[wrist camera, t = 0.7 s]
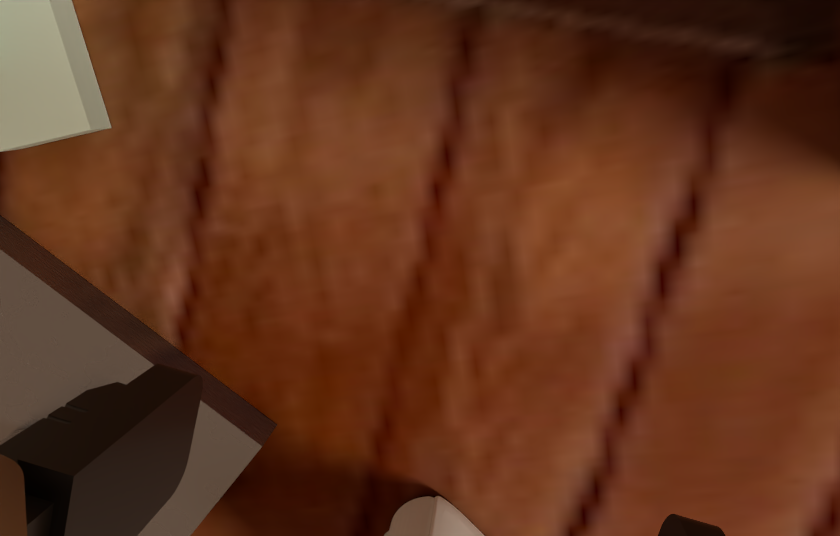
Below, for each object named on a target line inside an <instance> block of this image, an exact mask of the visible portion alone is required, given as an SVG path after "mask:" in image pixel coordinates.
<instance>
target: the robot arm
mask: <svg viewBox="0 0 840 536" xmlns="http://www.w3.org/2000/svg"><path fill="white" fill-rule="evenodd" d="M202 389H203V380H202V377H201V376H200V375H197V374H193V373H190V372H186V371H183V370H179V369H176V368H172V367H169V366H166V365H162V364H156V365H154V366H153V367H151V368H150V369H148V370H147V371H145V372H144V373H142V374H141V375H139V376H138V377H137V378H135V379H134V380H132V381H131V382H129V383H128V384H123V383H119V382H115V383H111V384H107V385H104V386H100V387H96V388H93V389H89V390H86V391H85V392H83V393H82V394H80V395H78V396H77V397H75V398H74V399H72V400H71V401H69V402H67V403H66V405H65V407H63V406H61V407H60V408H58V409H56V410H55V411H53V412H52V413H50V414H48V417H47V418H42V419H41V420H39V421H37V422H36V423H34V424H33V425H31V426H30V427H28V428H26V429H25V430H23V431H22V432H20V433H19V434H17V435H15V436H14V437H12V438H11V439H9V440H8V441H6V442H4V443H3V444H1V445H0V536H137V535H138V534H139V533H140V532H141V531H142V530H143V529H144V527H145V526H146V525H147V524H148V523H149V522H150V521H151V519H152V518H153V517H154V516H155V515H156V514H157V513H158V511H159V510H160V509H161V508H162V507H163V506H164V505H165V504H166V502H167V501H168V500H169V499H170V498H171V497H172V495H173V494H174V492H175V491H176V489H177V487H178V485H179V484H180V481H181V479H182V477H183V475H184V472H185V469H186V466H187V463H188V459H189V454H190V449H191V444H192V439H193V434H194V429H195V424H196V420H197V415H198V410H199V405H200V400H201V395H202ZM658 536H725V534H724V533H723V531H722V530H721V529H720V528H719V527H717V526H714V525H710V524H707V523H703V522H700V521H696V520H693V519H689V518H686V517H682V516H679V515H676V514H671V515H669V516H668V517H667V518H666V519H665V521H664V522H663V524H662V527H661V529H660V532H659V534H658Z"/></svg>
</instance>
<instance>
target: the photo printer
mask: <svg viewBox="0 0 840 536" xmlns="http://www.w3.org/2000/svg"><path fill="white" fill-rule="evenodd" d="M384 536H484V535H483V534H482V533H481V532H480V531H479V530H478V529H477V528H476V527H475V526H474V525H473V524H472V523H471V522H470V521H469V520H468V519H467V518H466V517H465V516H464V515H463V514H462V513H461V512H460V511H459V510H458V509H456V508H455V507H454V506H453V505H452V504H450V503H449V502H448V501H447V500H445V499H444V498H442V497H440V496H436V497H434V498H433V497H430V496H426V497H420V498H416V499H413V500H411V501H409V502H407V503H405V504H404V505H403V506H401V507H400V508H399V509H398V510H397V512H396V513H395V514H394V516H393V518H392V521H391V525H390V529H389V531H388V532H386V533H385V534H384Z"/></svg>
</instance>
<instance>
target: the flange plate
mask: <svg viewBox="0 0 840 536" xmlns="http://www.w3.org/2000/svg"><path fill="white" fill-rule="evenodd" d="M109 128H112V127H111V124H110V121H109V118H108V115H107V112H106V108H105V105H104V102H103V99H102V96H101V92H100V89H99V86H98V83H97V80H96V76H95V73H94V70H93V67H92V64H91V61H90V57H89V54H88V51H87V48H86V45H85V41H84V38H83V35H82V32H81V29H80V25H79V22H78V19H77V16H76V13H75V10H74V6H73V3H72V0H0V152H2V151H10V150H18V149H23V148H28V147H32V146H36V145H40V144H45V143H49V142H53V141H58V140H62V139H66V138H70V137H75V136H79V135H83V134H87V133H92V132H96V131H100V130H104V129H109Z"/></svg>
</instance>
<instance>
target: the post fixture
mask: <svg viewBox="0 0 840 536" xmlns="http://www.w3.org/2000/svg"><path fill="white" fill-rule="evenodd" d="M156 364H162V365H166V366H169V367H172V368H176V369H179V370H183V371H186V372H190V373H193V374H197V375H200V376H201V377H202V380H203V389H202V395H201V400H200V405H199V410H198V415H197V420H196V424H195V429H194V434H193V439H192V444H191V449H190V454H189V459H188V463H187V466H186V469H185V472H184V475H183V477H182V479H181V481H180V484H179V485H178V487H177V489H176V491H175V492H174V494H173V495H172V497H171V498H170V499H169V500H168V501H167V502H166V504H165V505H164V506H163V507H162V508H161V509H160V510H159V511H158V513H157V514H156V515H155V516H154V517H153V518H152V519H151V521H150V522H149V523H148V524H147V525H146V526H145V527H144V529H143V530H142V531H141V532H140V533H139V534H138V535H137V536H190V535H191V534H192V533H193V532H194V530H195V529H196V528H197V527H198V525H199V524H200V523H201V522H202V520H203V519H204V518H205V517H206V515H207V514H208V513H209V512H210V511H211V509H212V508H213V507H214V506H215V504H216V503H217V502H218V501H219V499H220V498H221V497H222V496H223V494H224V493H225V492H226V491H227V490H228V488H229V487H230V486H231V485H232V483H233V482H234V481H235V480H236V478H237V477H238V476H239V475H240V473H241V472H242V471H243V470H244V468H245V467H246V466H247V465H248V464H249V462H250V461H251V460H252V459H253V457H254V456H255V455H256V454H257V452H258V451H259V450H260V449H261V447H262V446H263V445H264V443H265V442H266V440H267V439H268V437H269V436H270V435H271V433H272V432H273V430H274V429H275V427H276V426H277V424H275V423H274V422H273V421H271V420H270V419H269V418H267V417H266V416H265V415H263V414H262V413H261V412H259V411H258V410H257V409H255V408H254V407H253V406H252V405H250V404H249V403H248V402H246V401H245V400H244V399H242V398H241V397H240V396H238V395H237V394H236V393H234V392H233V391H232V390H230V389H229V388H228V387H226V386H225V385H224V384H222V383H221V382H220V381H218V380H217V379H216V378H214V377H213V376H212V375H211V374H209V373H208V372H207V371H205V370H204V369H203V368H201V367H200V366H199V365H197V364H196V363H195V362H193V361H192V360H191V359H189V358H188V357H187V356H185V355H184V354H183V353H181V352H180V351H179V350H177V349H176V348H175V347H174V346H172V345H171V344H170V343H168V342H167V341H166V340H164V339H163V338H162V337H160V336H159V335H158V334H156V333H155V332H154V331H152V330H151V329H150V328H148V327H147V326H146V325H144V324H143V323H142V322H140V321H139V320H138V319H136V318H135V317H134V316H133V315H131V314H130V313H129V312H127V311H126V310H125V309H123V308H122V307H121V306H119V305H118V304H117V303H115V302H114V301H113V300H111V299H110V298H109V297H107V296H106V295H105V294H103V293H102V292H101V291H99V290H98V289H97V288H96V287H94V286H93V285H92V284H90V283H89V282H88V281H86V280H85V279H84V278H82V277H81V276H80V275H78V274H77V273H76V272H74V271H73V270H72V269H70V268H69V267H68V266H66V265H65V264H64V263H62V262H61V261H60V260H58V259H57V258H56V257H55V256H53V255H52V254H51V253H49V252H48V251H47V250H45V249H44V248H43V247H41V246H40V245H39V244H37V243H36V242H35V241H33V240H32V239H31V238H29V237H28V236H27V235H25V234H24V233H23V232H21V231H20V230H19V229H18V228H16V227H15V226H14V225H12V224H11V223H10V222H8V221H7V220H6V219H4V218H3V217H2V216H0V445H1V444H3V443H4V442H6V441H8V440H9V439H11V438H12V437H14V436H15V435H17V434H19V433H20V432H22V431H23V430H25V429H26V428H28V427H30V426H31V425H33V424H34V423H36V422H37V421H39V420H41V419H42V418H47V417H48V414H50V413H52V412H53V411H55V410H56V409H58V408H60V407H61V406H63V407H65V405H66V403H67V402H69V401H71V400H72V399H74V398H75V397H77V396H78V395H80V394H82V393H83V392H85V391H86V390H89V389H93V388H96V387H100V386H104V385H107V384H111V383H115V382H119V383H123V384H128V383H129V382H131V381H132V380H134V379H135V378H137V377H138V376H139V375H141V374H142V373H144V372H145V371H147V370H148V369H150V368H151V367H153V366H154V365H156Z"/></svg>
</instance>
